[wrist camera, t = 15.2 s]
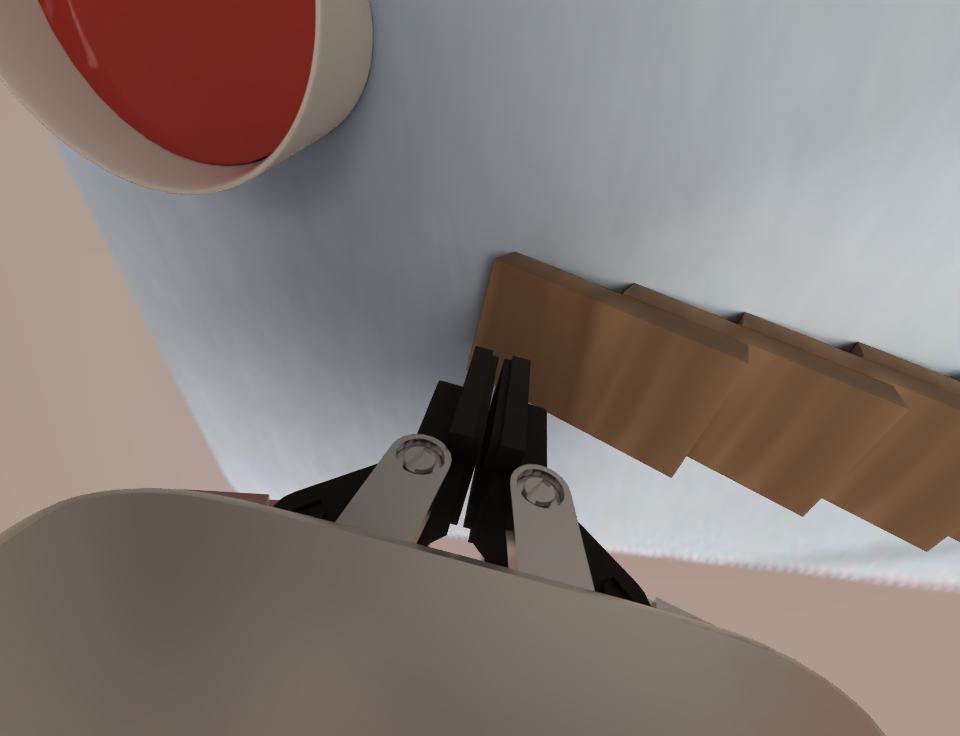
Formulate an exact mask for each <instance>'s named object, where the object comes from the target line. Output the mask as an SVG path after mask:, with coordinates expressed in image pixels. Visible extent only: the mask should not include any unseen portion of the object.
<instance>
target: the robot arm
mask: <svg viewBox="0 0 960 736" xmlns="http://www.w3.org/2000/svg"><path fill="white" fill-rule="evenodd" d="M492 354H493V350H490V349H486V348H483V347H479V346H476V347H475V350H474V353H473V356H472V360H471V363H470V366H469V369H468V373H467V376H466V379H465V382H464V386H459V385H455V384H451V383H447V382H444V381H439V382H438V384H437V387H436V389H435V392H434V394H433V397H432V399H431V401H430V404H429V406H428V409H427V411H426V414H425V416H424V419H423V421H422V424H421V426H420V428H419V431H418V433H417V434H412V435H407V436H404V437H401V438H399V439H397V440H396V441H395V442H394V443H393V444H392V445H391V447H390V448H389V449H388V451H387V452H386V453H385V455H384V456H383V457H382V459H381V460H380V462H379V463H378V464H375V465H372V466H369V467H367V468H364V469H361V470H358V471H355V472H352V473H349V474H346V475H343V476H340V477H337V478H334V479H331V480H328V481H325V482H323V483H320V484H317V485H314V486H311V487H308V488H305V489H302V490H299V491H296V492H293V493H291V494H289V495H287V496H285V497H283V498H282V499H281V500H270V499H269V495H268V494H251V493H234V492H216V491H201V490H182V489H161V488H141V489H122V490H110V491H104V492H96V493H91V494H86V495H81V496H77V497H73V498H70V499H67V500H64V501H61V502H58V503H56V504H54V505H51V506H49V507H47V508H44V509H42V510H40V511H38V512H37V513H35V514H33V515H31V516H29V517H27V518H25V519H23V520H22V521H20V522H18V523H17V524H15V525H13V526H12V527H10V528H8V529H7V530H6V531H4V532H2V533H1V534H0V736H886V735H885V734H884V732H883V731H882V730H881V729H880V728H879V726H878V725H877V724H876V723H875V722H874V720H873V719H872V718H871V717H870V716H869V715H868V714H867V713H866V712H865V711H864V710H863V709H862V708H861V707H860V706H859V705H858V704H857V703H856V702H855V701H854V700H853V699H851V698H850V697H849V696H848V695H846V694H845V693H844V692H843V691H841V690H840V689H839V688H837V687H836V686H835V685H833V684H832V683H831V682H829V681H828V680H827V679H825V678H823V677H822V676H820V675H819V674H817V673H816V672H814V671H812V670H810V669H809V668H808V667H806V666H804V665H803V664H801V663H800V662H798V661H796V660H795V659H793V658H791V657H788V656H787V655H784V654H783V653H780V652H779V651H777V650H775V649H772V648H771V647H769V646H766V645H765V644H762V643H760V642H757V641H755V640H753V639H750V638H748V637H745V636H743V635H740V634H737V633H735V632H732V631H729V630H726V629H723V628H720V627H716V626H714V625H712V624H710V623H708V622H706V621H704V620H702V619H700V618H698V617H696V616H694V615H692V614H690V613H688V612H686V611H683V610H682V609H680V608H678V607H676V606H673V605H671V604H669V603H667V602H665V601H663V600H661V599H659V598H656V599H655V600H654V601H651V600H649V599H647V597H646V595H645V593H644V591H643V590H642V589H641V588H640V586H639V585H638V584H637V583H636V582H635V581H634V580H633V578H631V576H629V574H627V572H626V571H625V570H624V569H623V568H622V567H621V566H620V565H619V564H618V563H617V562H616V561H615V560H614V559H613V558H612V557H611V556H610V554H609V553H608V552H607V551H606V550H605V549H604V548H603V547H602V546H601V545H600V544H599V543H598V542H597V541H596V540H595V539H594V538H593V537H592V536H591V535H590V534H589V533H588V532H587V530H586V529H585V528H584V527H583V526H582V525H581V524H580V523H579V522H578V520H577V516H576V512H575V508H574V504H573V500H572V496H571V492H570V490H569V487H568V485H567V483H566V482H565V481H564V480H563V478H562V477H561V476H559V475H558V474H557V473H556V472H554V471H553V470H551V469H549V468H547V411H546V409H545V408H542V407H538V406H534V405H530V404H528V398H529V382H530V365H531V360H528V359H524V358H520V357H516V356H512V359H511V360H509V359H504V361H503V365H502V368H501V371H500V375H499V378H498V381H497V385H496V388H495V391H494V395H493V398H492V401H491V396H492V391H493V386H494V381H495V376H496V370H497V365H498V360H499V357H498V356H494V355H492ZM490 401H491V405H490ZM489 406H490V408H489ZM475 465H476V466H475ZM474 468H475V471H474ZM473 471H474V476H473V480H472V485H471V490H470V495H469V500H468V505H467V510H466V515H465V520H464V526H463V527H465V528H469V529H470V535H469V540H468V542H470V543H473V544H474V545H475V547H476V548H477V549H478V551H479V552H480V553H481V557H480V560H476V559H472V558H469V557H465V556H461V555H457V554H453V553H450V552H445V551H442V550H438V549H434V548H430V547H429V545H430V543H432V542H434V541H435V540H438V539H440V538H442V537H444V536H446V535H447V532H448V529H449V525H450V524H454V525H457V524H458V521H459V517H460V514H461V511H462V507H463V504H464V501H465V498H466V494H467V491H468V488H469V484H470V481H471V478H472V475H473Z"/></svg>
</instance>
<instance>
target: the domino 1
mask: <svg viewBox="0 0 960 736" xmlns="http://www.w3.org/2000/svg"><path fill="white" fill-rule="evenodd" d="M476 346H479V347H483V348H486V349H490V350H493V354H492V355H494V356H498V357H499V360H498V365H497V370H496V376H495V381H494V384H495V385H497V381H498V378H499V375H500V371H501V368H502V365H503V361H504V359H509V360H511V359H512V356H516V357H520V358H524V359H528V360H531V365H530V382H529V398H528V402H529V403H531V404H533V405H535V406H538V407H542V408H545V409H546V411H547V412H548V413H550V414H552V415H553V416H555V417H557V418H559V419H561V420H563V421H565V422H567V423H569V424H570V425H572V426H574V427H576V428H578V429H580V430H582V431H584V432H586V433H588V434H589V435H591V436H593V437H595V438H597V439H599V440H601V441H603V442H605V443H606V444H608V445H610V446H612V447H614V448H616V449H618V450H620V451H622V452H623V453H625V454H627V455H629V456H631V457H633V458H635V459H637V460H639V461H641V462H642V463H644V464H646V465H648V466H650V467H652V468H654V469H656V470H658V471H659V472H661V473H663V474H665V475H667V476H669V477H671V478H672V477H673V475H674V474H675V472H676V471H677V469H678V468H679V466H680V465H681V463H682V462H683V460H684V459H685V457H686V456H687V454H688V453H689V451H690V450H691V449H692V447H693V446H694V444H695V443H696V441H697V440H698V438H699V437H700V435H701V434H702V432H703V431H704V429H705V428H706V426H707V425H708V423H709V422H710V420H711V419H712V418H713V416H714V415H715V413H716V412H717V410H718V409H719V407H720V406H721V404H722V403H723V401H724V400H725V398H726V397H727V395H728V394H729V392H730V391H731V390H732V388H733V387H734V385H735V384H736V382H737V381H738V379H739V378H740V376H741V375H742V373H743V372H744V370H745V369H746V367H747V366H748V364H749V354H748V345H747V344H745V343H742V342H740V341H737V340H735V339H732V338H730V337H727V336H725V335H722V334H720V333H717V332H715V331H712V330H710V329H707V328H705V327H702V326H700V325H697V324H695V323H692V322H690V321H687V320H685V319H682V318H680V317H677V316H675V315H672V314H670V313H667V312H665V311H662V310H660V309H657V308H655V307H652V306H650V305H647V304H645V303H642V302H640V301H637V300H635V299H632V298H630V297H627V296H625V295H622V294H619V293H617V292H614V291H612V290H609V289H607V288H604V287H602V286H599V285H597V284H594V283H592V282H589V281H587V280H584V279H582V278H579V277H577V276H574V275H572V274H569V273H567V272H564V271H562V270H559V269H557V268H554V267H552V266H549V265H547V264H544V263H542V262H539V261H537V260H534V259H532V258H529V257H527V256H524V255H522V254H519V253H517V252H514V253H511V254H508V255H505V256H502V257H499V258H496V259H494V263H493V267H492V271H491V275H490V279H489V283H488V287H487V291H486V295H485V299H484V302H483V306H482V310H481V314H480V318H479V322H478V326H477V330H476V334H475V338H474V342H473V346H472V350H471V354H470V358H469V362H468V366H467V369H466V370H468V369H469V366H470V363H471V360H472V356H473V353H474V350H475V347H476Z"/></svg>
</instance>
